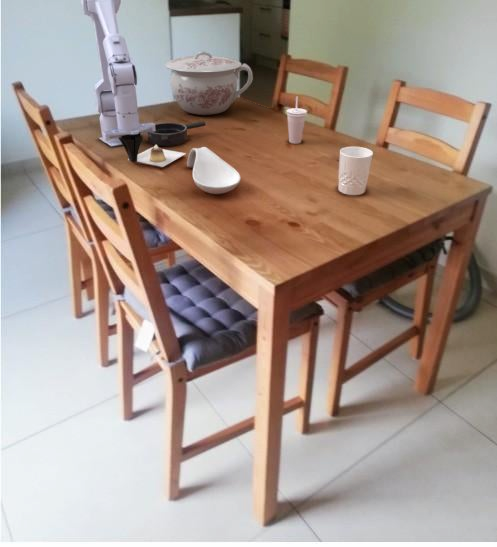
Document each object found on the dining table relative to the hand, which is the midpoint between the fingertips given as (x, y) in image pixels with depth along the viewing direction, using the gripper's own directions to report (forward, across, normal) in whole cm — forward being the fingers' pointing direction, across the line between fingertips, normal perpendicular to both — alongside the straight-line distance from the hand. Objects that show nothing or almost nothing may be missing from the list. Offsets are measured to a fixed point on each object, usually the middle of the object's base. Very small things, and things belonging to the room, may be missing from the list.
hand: (133, 161), depth 137 cm
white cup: (+2, +37, -48) cm, 60 cm away
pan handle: (-1, +28, +14) cm, 31 cm away
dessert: (+2, +8, 0) cm, 8 cm away
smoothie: (+2, +50, -11) cm, 52 cm away
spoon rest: (+2, +11, -22) cm, 24 cm away
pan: (+1, +18, +14) cm, 23 cm away
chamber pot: (+2, +47, +36) cm, 60 cm away
